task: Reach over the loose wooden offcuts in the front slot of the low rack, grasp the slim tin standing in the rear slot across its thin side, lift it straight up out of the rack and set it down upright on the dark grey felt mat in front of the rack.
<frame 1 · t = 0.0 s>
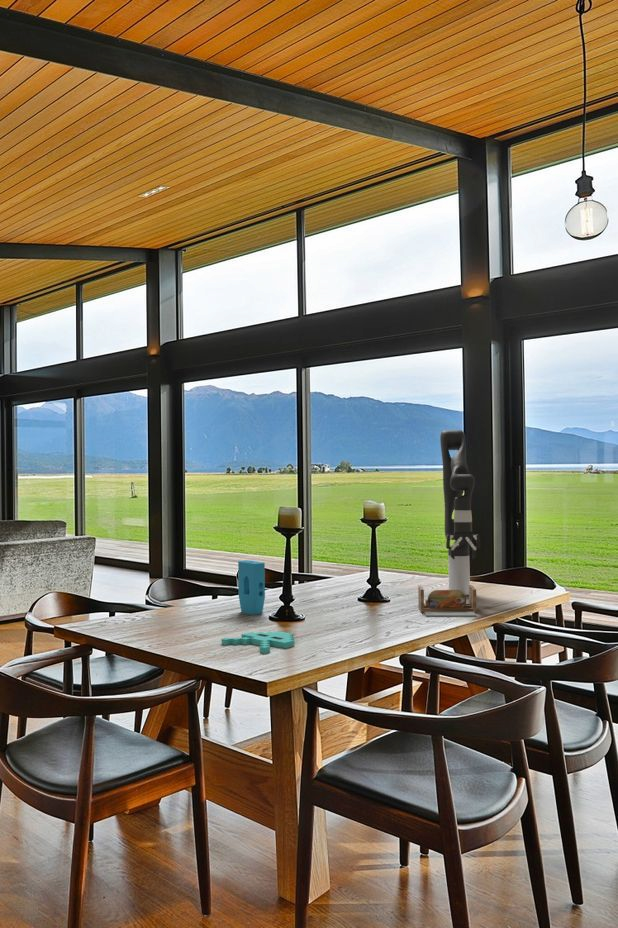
hand: (463, 559, 332), 17 cm above the table, tool pointing down, fingers open, 8 cm apart
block: (251, 613, 307), on the table
tin: (446, 611, 307), resting in rack
rack: (446, 610, 308), on the table
offcut maple: (432, 609, 312), resting in rack
offcut oak: (432, 604, 312), point 2 cm above the table
felt mat: (450, 614, 298), on the table
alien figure: (265, 645, 254), on the table
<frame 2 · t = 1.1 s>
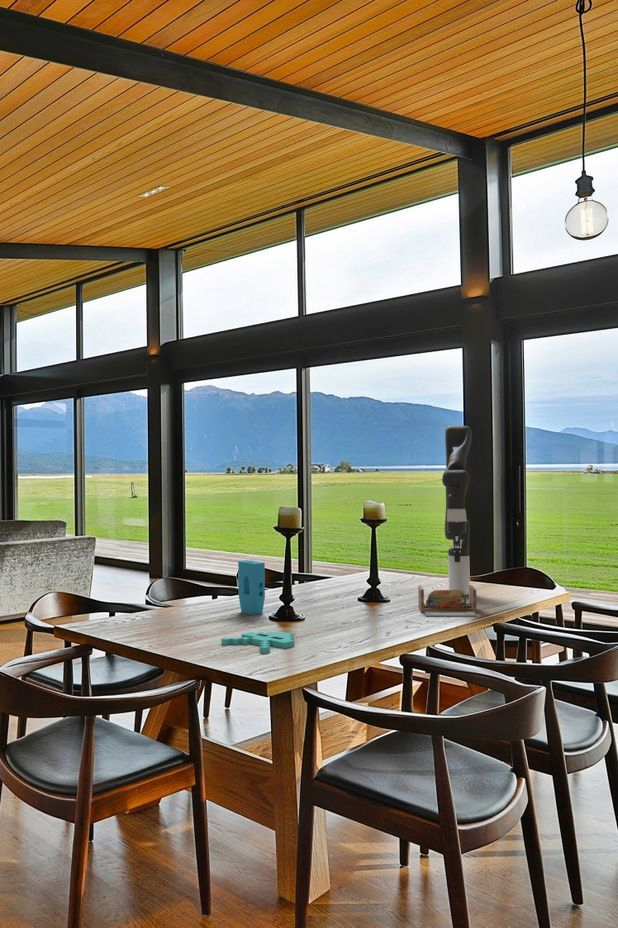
hand: (457, 561, 309), 19 cm above the table, tool pointing down, fingers open, 8 cm apart
offcut maple: (432, 609, 312), resting in rack, touching offcut oak
offcut oak: (432, 604, 312), point 2 cm above the table, touching offcut maple
everything else where it was.
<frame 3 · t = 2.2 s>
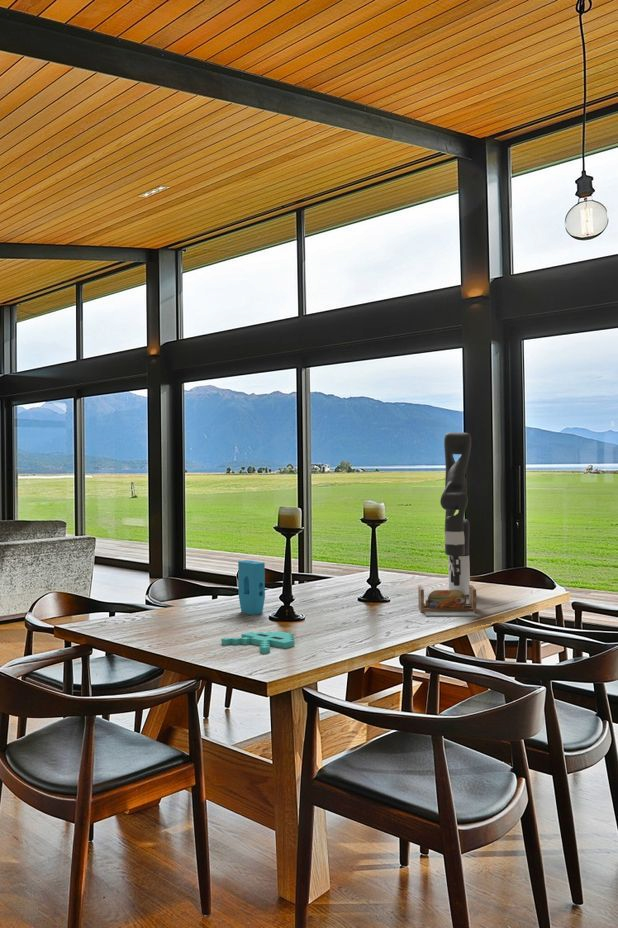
hand: (455, 584, 306), 11 cm above the table, tool pointing down, fingers open, 8 cm apart
nothing on the table moved.
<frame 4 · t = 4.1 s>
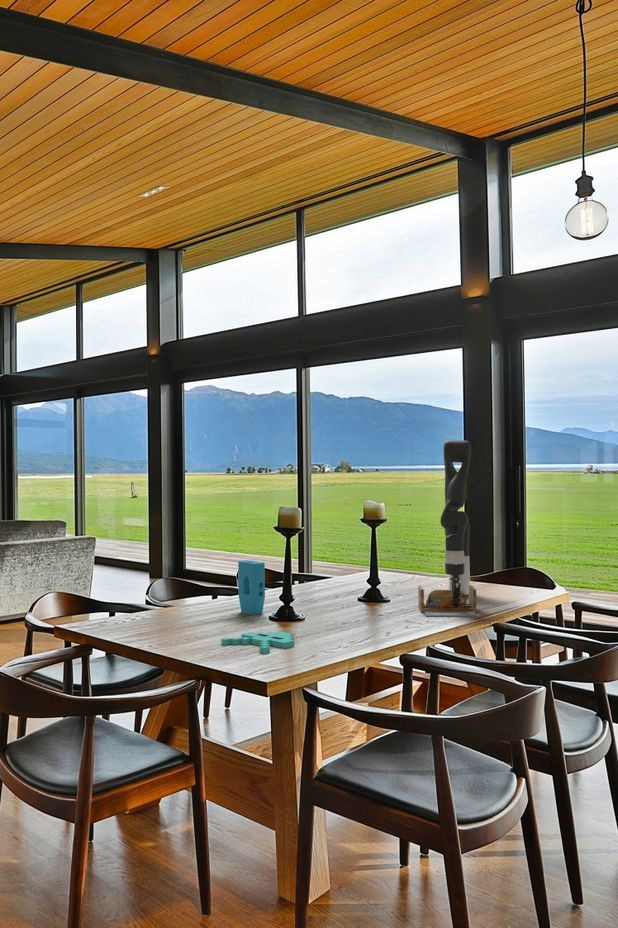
hand: (455, 605, 307), 2 cm above the table, tool pointing down, fingers closed on tin, 2 cm apart
tin: (446, 610, 307), resting in rack, touching gripper
everything else where it was.
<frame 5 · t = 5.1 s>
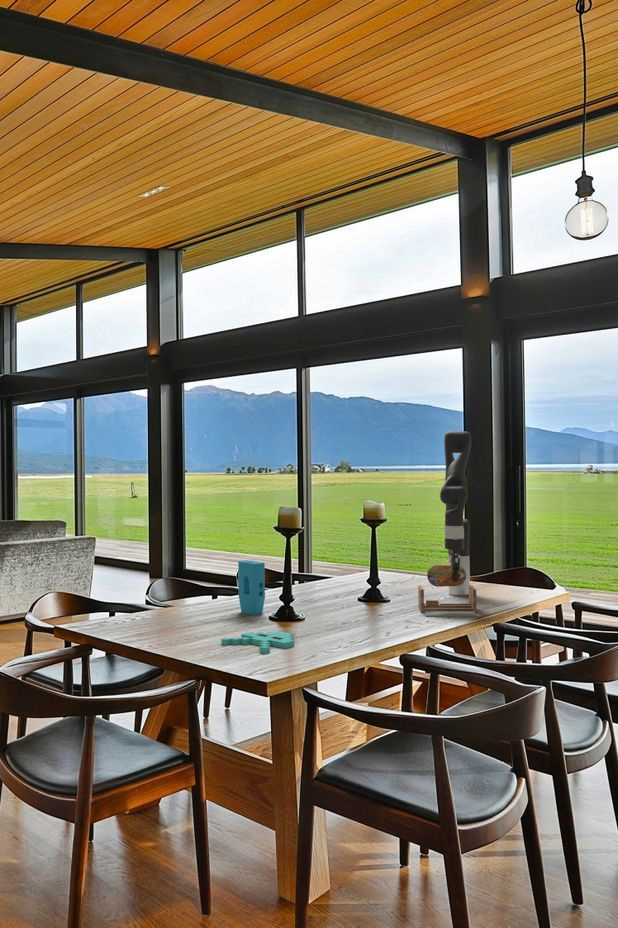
hand: (454, 580, 306), 12 cm above the table, tool pointing down, fingers closed on tin, 2 cm apart
tin: (446, 586, 307), point 10 cm above the table, touching gripper
everything else where it was.
when the fingers open (4 cm above the table, at t = 8.8 s): tin drops 1 cm, resting on felt mat.
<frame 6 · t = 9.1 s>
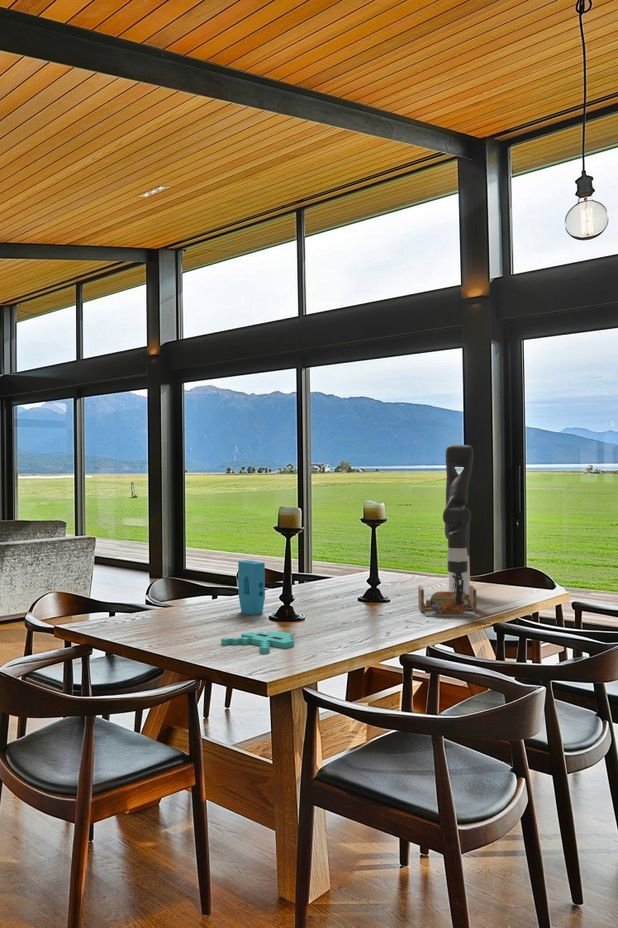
hand: (457, 603, 298), 4 cm above the table, tool pointing down, fingers open, 4 cm apart
tin: (449, 613, 299), resting on felt mat
offcut maple: (432, 609, 311), resting in rack
offcut oak: (432, 604, 311), point 2 cm above the table
everything else where it was.
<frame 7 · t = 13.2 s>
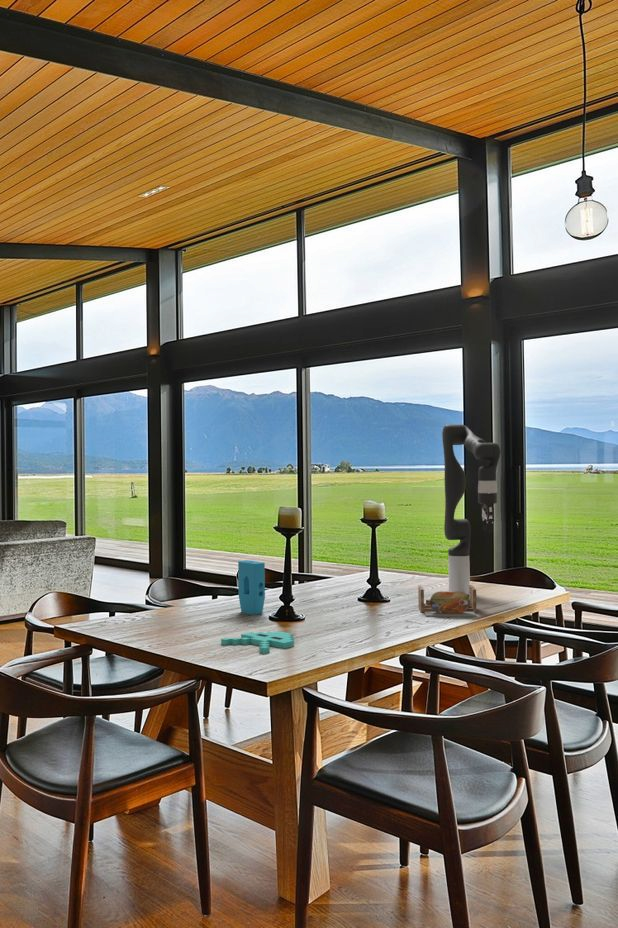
hand: (487, 531, 317), 30 cm above the table, tool pointing down, fingers open, 8 cm apart
offcut maple: (432, 609, 312), resting in rack, touching offcut oak
offcut oak: (432, 604, 311), point 2 cm above the table, touching offcut maple, rack
everything else where it was.
at the end: tin inside the target area on the felt mat (0.8 cm from its centre), point 0.4 cm above the felt mat's base; tin tilted 0°; the gripper is holding nothing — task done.
